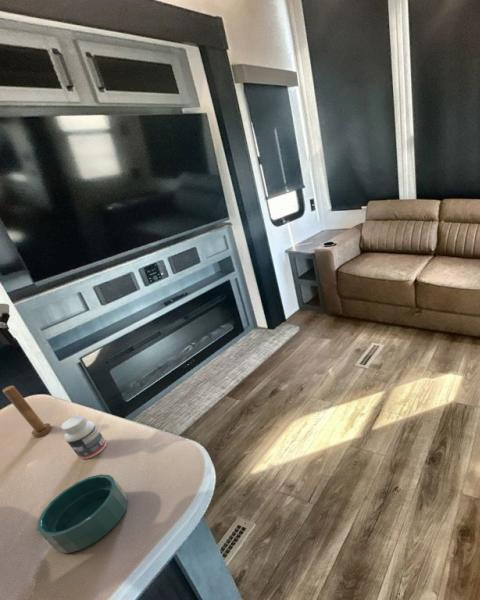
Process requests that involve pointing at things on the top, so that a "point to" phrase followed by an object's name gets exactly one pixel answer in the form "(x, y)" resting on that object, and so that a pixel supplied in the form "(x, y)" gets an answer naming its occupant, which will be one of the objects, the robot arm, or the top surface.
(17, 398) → the wooden peg
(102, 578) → the top surface
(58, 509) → the bowl
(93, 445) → the pill bottle
